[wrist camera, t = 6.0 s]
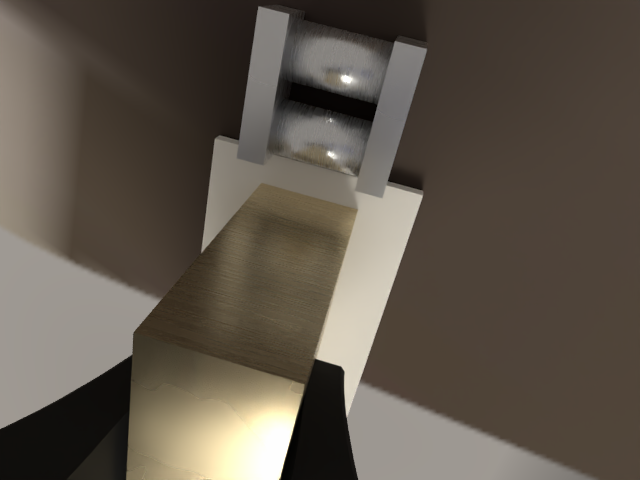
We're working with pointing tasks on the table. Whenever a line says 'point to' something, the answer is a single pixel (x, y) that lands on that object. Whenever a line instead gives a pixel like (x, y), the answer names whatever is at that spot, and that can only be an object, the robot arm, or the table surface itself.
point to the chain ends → (334, 76)
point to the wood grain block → (237, 343)
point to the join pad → (362, 253)
